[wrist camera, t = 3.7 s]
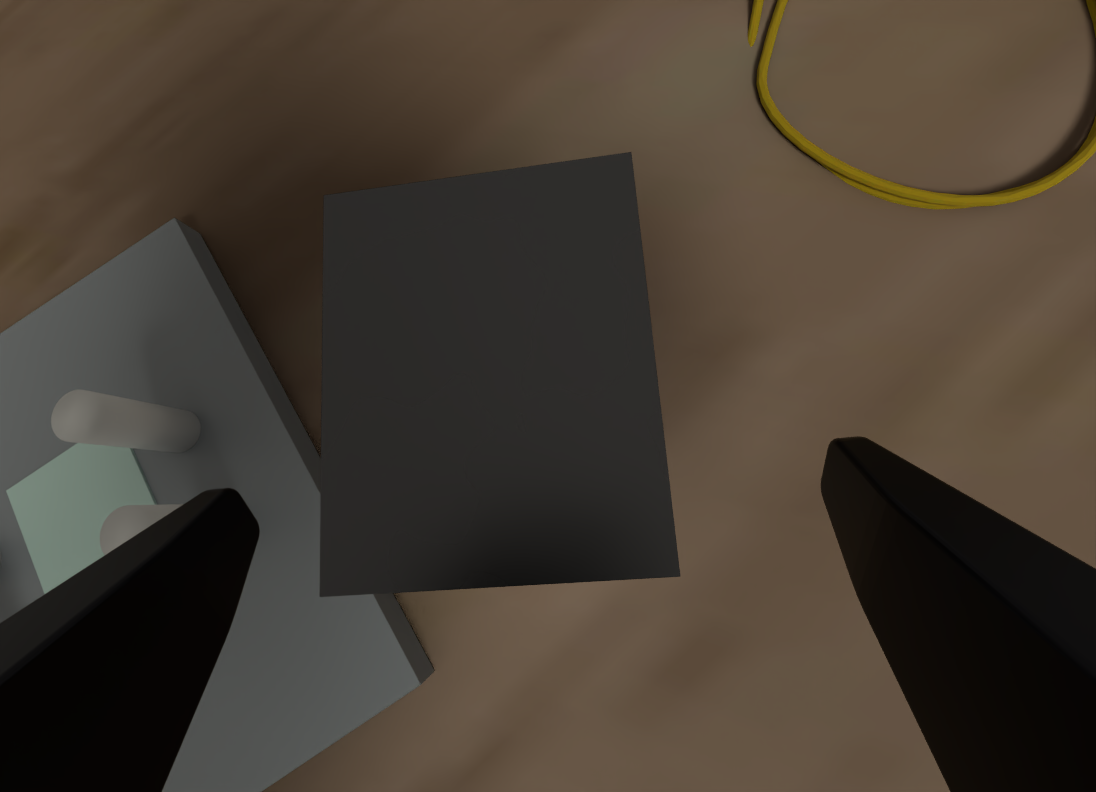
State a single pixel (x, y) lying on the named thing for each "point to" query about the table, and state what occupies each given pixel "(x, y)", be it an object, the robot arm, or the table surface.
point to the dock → (175, 478)
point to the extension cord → (884, 187)
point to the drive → (490, 385)
